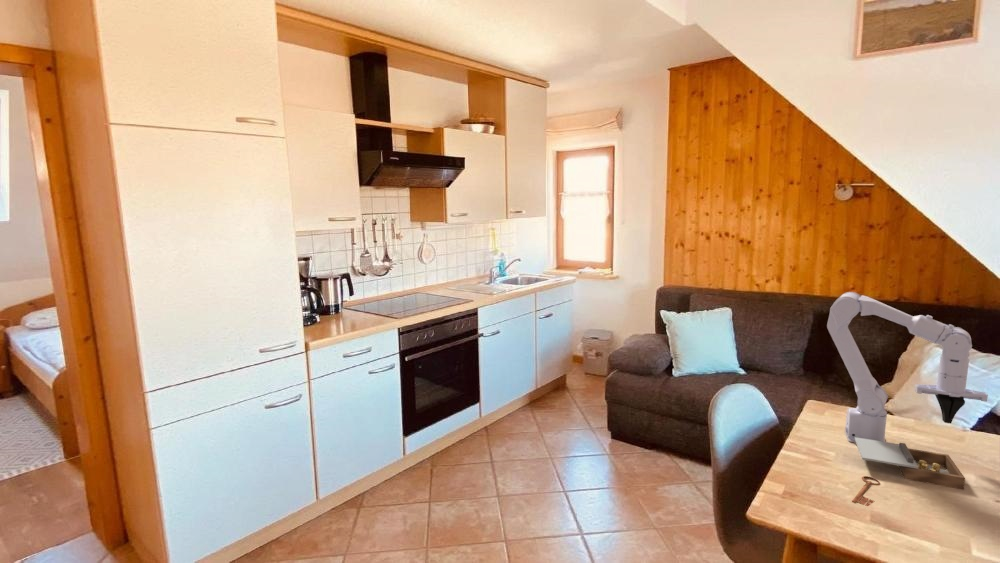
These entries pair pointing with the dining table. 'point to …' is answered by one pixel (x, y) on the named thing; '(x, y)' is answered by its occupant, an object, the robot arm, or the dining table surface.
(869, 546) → the dining table surface
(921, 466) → the dice set
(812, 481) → the dining table surface
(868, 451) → the lid
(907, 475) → the box
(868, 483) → the key
